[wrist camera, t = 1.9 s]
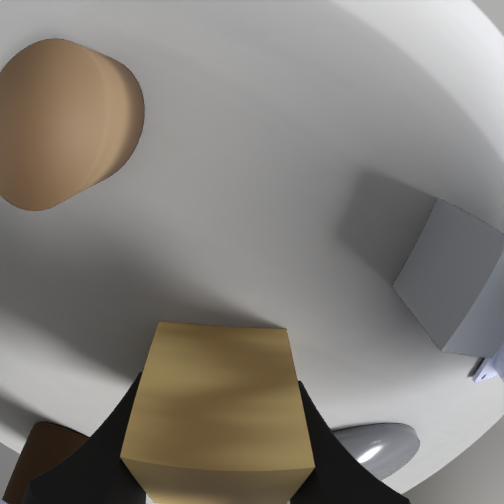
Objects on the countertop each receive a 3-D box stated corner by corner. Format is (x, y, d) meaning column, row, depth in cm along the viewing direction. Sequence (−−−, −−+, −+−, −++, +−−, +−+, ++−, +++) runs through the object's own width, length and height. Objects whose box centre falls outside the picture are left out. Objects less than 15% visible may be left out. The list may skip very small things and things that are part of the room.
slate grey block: (486, 232, 10) (545, 273, 6) (446, 304, 11) (491, 358, 8) (436, 196, 9) (509, 237, 6) (390, 285, 11) (440, 351, 7)
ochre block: (286, 328, 11) (315, 467, 6) (269, 401, 13) (281, 508, 8) (159, 320, 11) (120, 457, 5) (170, 396, 13) (154, 502, 7)
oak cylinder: (151, 49, 7) (114, 21, 4) (143, 184, 9) (104, 212, 6) (41, 69, 6) (-14, 63, 4) (38, 185, 8) (-15, 211, 6)
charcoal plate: (449, 405, 16) (454, 414, 15) (372, 483, 22) (374, 490, 22) (236, 434, 15) (236, 448, 14) (228, 499, 21) (228, 507, 20)
